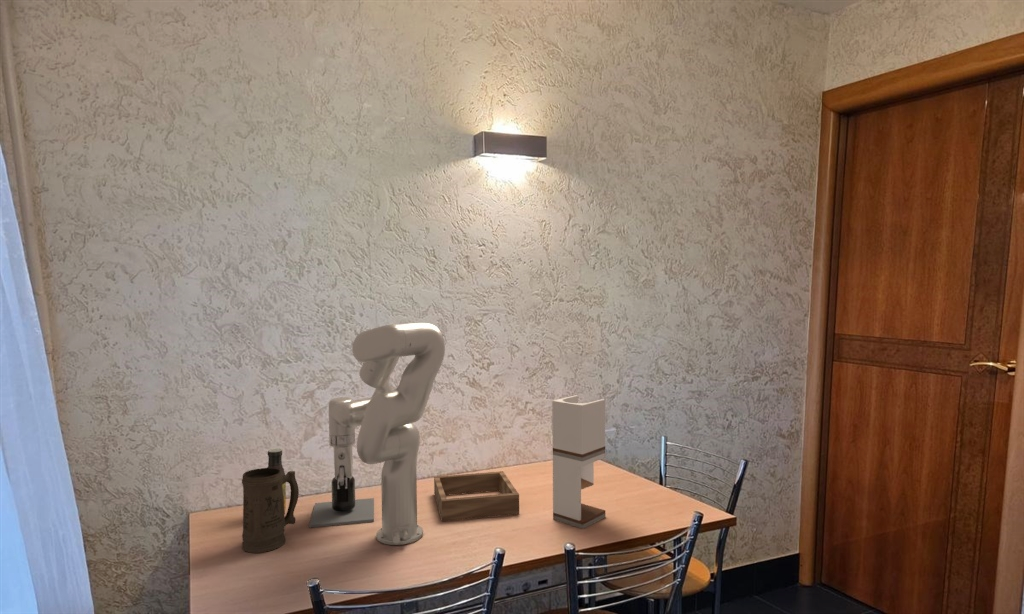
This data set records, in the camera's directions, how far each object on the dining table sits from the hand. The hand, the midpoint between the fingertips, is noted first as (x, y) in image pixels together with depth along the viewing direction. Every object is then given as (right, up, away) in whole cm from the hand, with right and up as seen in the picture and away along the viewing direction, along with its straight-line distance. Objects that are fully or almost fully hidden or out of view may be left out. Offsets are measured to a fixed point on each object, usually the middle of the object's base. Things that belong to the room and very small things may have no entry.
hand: (343, 496), depth 182 cm
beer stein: (-14, -6, -19) cm, 25 cm away
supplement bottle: (0, -3, 0) cm, 4 cm away
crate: (+39, -5, +7) cm, 40 cm away
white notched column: (+71, -5, -5) cm, 71 cm away
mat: (0, -5, 0) cm, 5 cm away
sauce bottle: (-20, -6, -1) cm, 21 cm away
